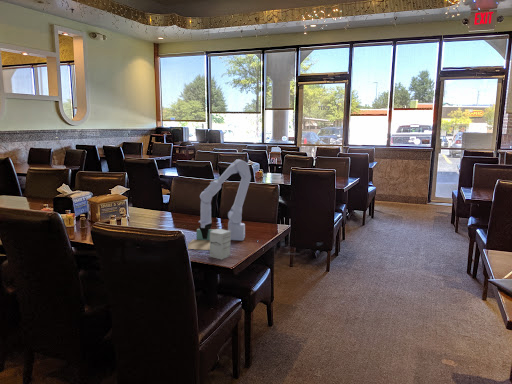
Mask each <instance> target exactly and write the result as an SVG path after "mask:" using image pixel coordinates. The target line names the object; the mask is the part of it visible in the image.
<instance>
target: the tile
mask: <svg viewBox="0 0 512 384" xmlns="http://www.w3.org/2000/svg"><path fill="white" fill-rule="evenodd" d="M213 230H214V229H209V230H208V236H207V239H203V237H202V233H201V230H200V229H199V228H197V229H196V240H210V231H213Z"/></svg>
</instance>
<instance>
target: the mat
mask: <svg viewBox="0 0 512 384" xmlns="http://www.w3.org/2000/svg"><path fill="white" fill-rule="evenodd" d="M187 245H188V249H187V250H190V249H194V250H193V251H209V252H210V240H197V239H192V240H191V241H190V242H188V244H187Z"/></svg>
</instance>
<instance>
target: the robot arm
mask: <svg viewBox="0 0 512 384" xmlns="http://www.w3.org/2000/svg"><path fill="white" fill-rule="evenodd" d="M235 174H239V176H240V178H241V179H240V182H239V185H238V189H237V191H236V192H237V193H236V195H235V199H234V202H233V205H232V206H231V208H230V210H229V211H228V212H227V218H228V221H227V230H228V231H231V238H230V241H240V242H241V241H244V240H245V238H246V224H245V223H244V222H242V219H243V217H242V214H243V205H244V202H245V200H246V197H247V192H248V189H249V185H250V183H251V179H252V175H251V170H250V165H249V164H248V163H247V161H245V160H242V159H241V158H240V159H239V158H238V159H235V160H234V161H233V162H232V163H230V165H229V166H228V167H227V168H226V169H225V170H224V171H223V173H222V174H221V175H220V176H219V178H217V180H215V179H214V180H212V181H210V182H209V185H208V186H207V187H206V188H204V190H203V191H201V193H200V194H199V198H200V205H199V206H200V210H199V211H200V220H198V222H197V223H200V225H199V226H198V229H200V230H201V233H202V237H203V239H207V236H208V230H209V229H211V228H212V226H213V222H212V204H211V203H212V200H213V197H214V196H215V195H216V194H217V193H218V192H219V191H220V190H221V189H222V184H223V183H225V181H227V179H229V177H230V176H232V175H235ZM211 230H212V229H211Z"/></svg>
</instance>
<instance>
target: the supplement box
mask: <svg viewBox="0 0 512 384" xmlns="http://www.w3.org/2000/svg"><path fill="white" fill-rule="evenodd" d="M212 230H213V231H210V251H209V258H214V259H218V260H224V259H227V258H228V257H230V256H231V240H230V238H231V231H228V229H224V228H223V229H222V228H216V229H212Z"/></svg>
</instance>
